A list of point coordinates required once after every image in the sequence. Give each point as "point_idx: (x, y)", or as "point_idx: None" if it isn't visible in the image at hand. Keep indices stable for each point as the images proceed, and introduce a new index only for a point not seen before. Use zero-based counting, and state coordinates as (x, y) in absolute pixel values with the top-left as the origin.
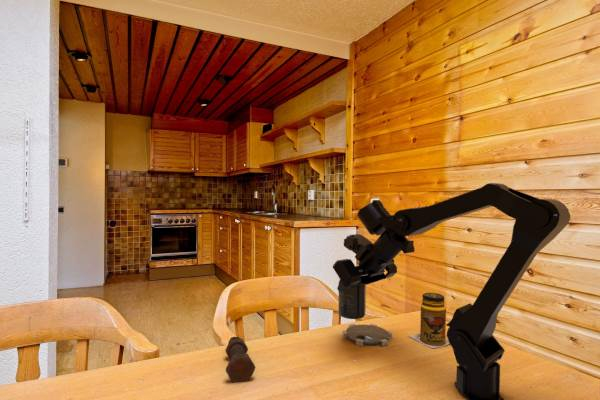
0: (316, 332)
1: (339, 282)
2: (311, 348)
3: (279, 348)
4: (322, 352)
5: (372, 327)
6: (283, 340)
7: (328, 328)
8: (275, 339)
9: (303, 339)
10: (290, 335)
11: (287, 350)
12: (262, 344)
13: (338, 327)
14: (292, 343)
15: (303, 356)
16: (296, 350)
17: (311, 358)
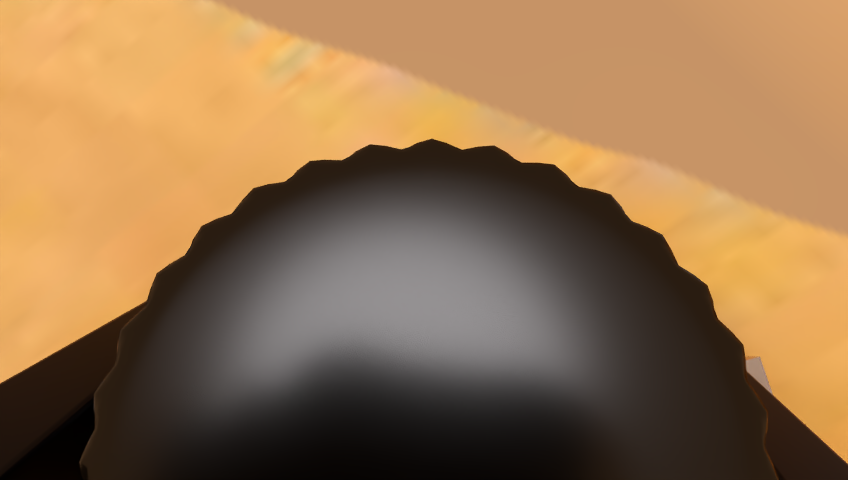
0: (387, 120)
1: (70, 350)
2: (160, 258)
3: (39, 120)
4: None
5: None
6: (143, 58)
7: (504, 134)
8: (124, 15)
9: (237, 134)
10: (232, 36)
11: (46, 172)
12: (21, 14)
13: (572, 172)
14: (144, 126)
15: (39, 295)
16: (79, 210)
17: (46, 348)
